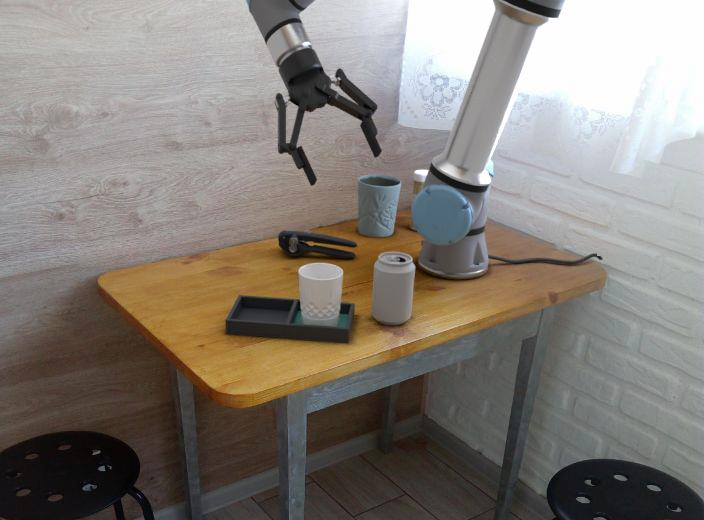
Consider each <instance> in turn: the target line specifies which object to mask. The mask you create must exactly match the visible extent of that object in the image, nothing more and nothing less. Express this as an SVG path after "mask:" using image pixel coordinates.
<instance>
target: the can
mask: <svg viewBox="0 0 704 520" xmlns="http://www.w3.org/2000/svg"><path fill="white" fill-rule="evenodd" d="M413 260H414V259H413V257H412V256H411V255H410V254H408V253H405V252H401V251H385V252H382V253H380V254H379V255H378V257H377V260H376V261H375V262H374V265H373V280H372V295H371V296H372V297H371V317H373V318H374V319H375V320H376V322H378V323H380V324H383V325H387V326H397V325H398V326H399V325H402V324H405V322H407V321H408V320H409V319H410V318H411V317H412V310H413V309H412V308H413V299H414V298H413V297H414V287H415V276H416V275H415V274H416V265H415V264H414V262H413Z"/></svg>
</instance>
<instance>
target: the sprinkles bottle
mask: <svg viewBox="0 0 704 520" xmlns="http://www.w3.org/2000/svg"><path fill="white" fill-rule="evenodd" d="M428 171H429V169H416V170H414V172H413V177H412V178H413V189H412V196H411V200H412V201H411V208H410V209H411V210H410V212H411V211H412V206H413V202H414V199H415V197H416V196H417V194H418V193H419V192H420V191H421V190H422V187H423V185H424V182H425V179H426V176H427V173H428ZM409 229H411V231H415V232H417V230H416V228H415V226H414V224H413V221H412V215H411V214H410V223H409Z"/></svg>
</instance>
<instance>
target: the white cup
mask: <svg viewBox="0 0 704 520" xmlns="http://www.w3.org/2000/svg"><path fill="white" fill-rule="evenodd" d="M297 271H298V289H299V299H300V307H301V317H302V324H306V325H319V326H333V327H337V325H338V323H339V312H340V306H341V302H342V297H343V294H342V293H343V280H344V279H343V278H344V269H342V267H340V266H338V265H336V264H332V263H328V262H312V263H307V264H305V265H304V264H303V265H302V266H301V267H299V268H298V270H297Z"/></svg>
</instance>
